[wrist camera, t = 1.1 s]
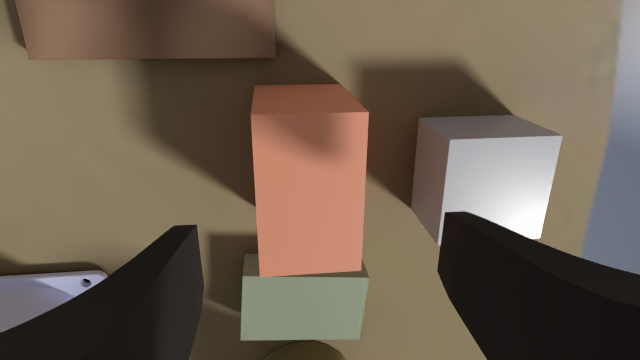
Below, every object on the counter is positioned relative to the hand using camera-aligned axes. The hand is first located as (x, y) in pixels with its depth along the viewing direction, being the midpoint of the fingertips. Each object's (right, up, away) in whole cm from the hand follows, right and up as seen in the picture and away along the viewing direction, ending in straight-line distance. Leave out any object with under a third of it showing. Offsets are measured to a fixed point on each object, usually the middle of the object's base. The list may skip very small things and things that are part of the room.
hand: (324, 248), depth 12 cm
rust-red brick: (-1, +4, +9) cm, 10 cm away
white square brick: (+7, +3, +10) cm, 13 cm away
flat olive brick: (-1, -4, +12) cm, 13 cm away
